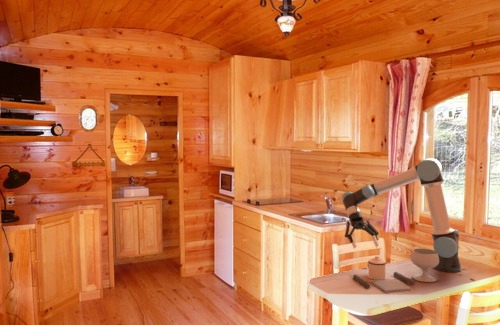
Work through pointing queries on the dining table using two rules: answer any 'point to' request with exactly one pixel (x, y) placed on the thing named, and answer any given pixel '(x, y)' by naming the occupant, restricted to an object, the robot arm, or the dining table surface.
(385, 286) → the slate tile
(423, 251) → the chalice
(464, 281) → the dining table surface
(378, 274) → the teacup with lid
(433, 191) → the robot arm
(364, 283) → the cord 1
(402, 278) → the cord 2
